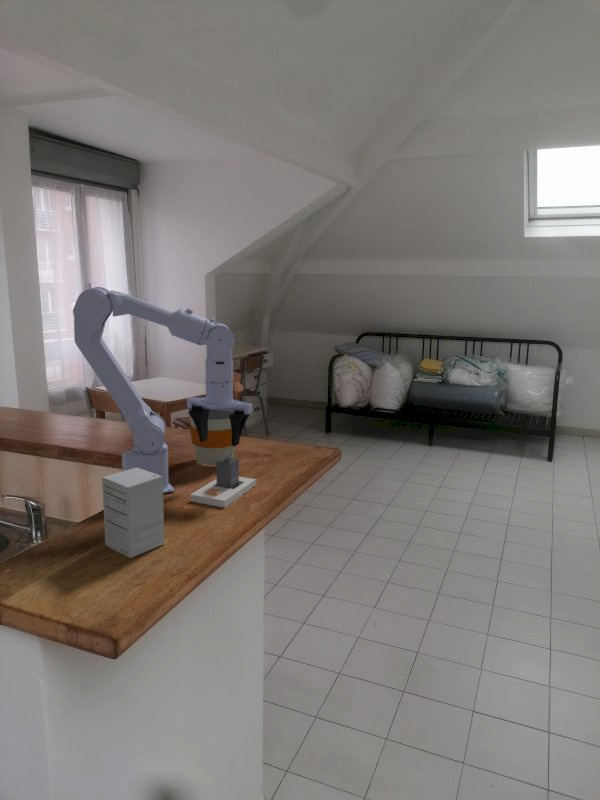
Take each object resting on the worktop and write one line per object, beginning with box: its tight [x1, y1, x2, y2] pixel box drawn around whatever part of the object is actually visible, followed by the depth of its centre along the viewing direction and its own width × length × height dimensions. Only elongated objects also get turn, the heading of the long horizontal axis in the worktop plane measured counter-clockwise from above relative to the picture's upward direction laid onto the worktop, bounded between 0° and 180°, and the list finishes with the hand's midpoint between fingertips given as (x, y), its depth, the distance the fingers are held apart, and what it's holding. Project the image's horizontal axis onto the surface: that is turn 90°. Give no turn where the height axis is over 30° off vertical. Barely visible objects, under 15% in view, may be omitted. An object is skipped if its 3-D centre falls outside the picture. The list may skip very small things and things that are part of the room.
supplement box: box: [101, 467, 165, 559], centre depth 107 cm, size 7×7×13 cm
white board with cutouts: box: [189, 476, 257, 509], centre depth 133 cm, size 14×8×2 cm, turn 158°
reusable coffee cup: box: [188, 396, 239, 465], centre depth 153 cm, size 13×13×15 cm
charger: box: [215, 452, 240, 489], centre depth 134 cm, size 4×4×8 cm
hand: (219, 442), depth 135 cm, fingers open, 7 cm apart
